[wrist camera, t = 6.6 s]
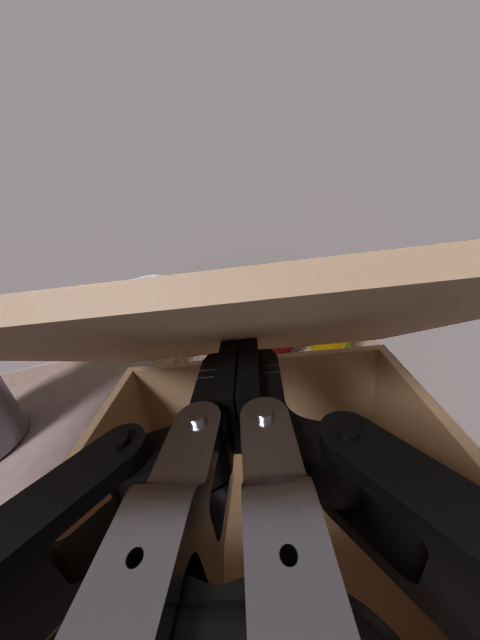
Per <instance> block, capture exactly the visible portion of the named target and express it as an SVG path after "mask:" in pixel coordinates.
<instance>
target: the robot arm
mask: <svg viewBox="0 0 480 640" xmlns="http://www.w3.org/2000/svg"><path fill="white" fill-rule="evenodd" d="M28 427H29V420H28V418H27V417H26V415H25V414H24V412H23V410H22V409H21V407H20V406H19V404H18V403H17V401H16V400H15V398H14V397H13V395H12V393H11V392H10V390H9V389H8V387H7V385H6V384H5V382H4V381H3V379H2V378H1V376H0V459H2V458H3V457H4V456H5V455H6V454H8V453H9V452H10V451H11V450H12V449H13V448H14V447H15V446H16V445H17V444H18V443H19V442H20V441H21V439H22V438H23V437H24V435H25V434H26V432H27V430H28ZM234 454H242V469H243V483H242V484H241V503H242V528H243V553H244V577H242V578H239V579H236V580H233V581H231V582H228V583H225V584H224V545H225V537H226V530H227V522H228V515H229V508H230V500H231V493H232V486H233V462H234ZM109 494H110V495H111V496H112V498H111V499H110V500H109V501H108V502H107V503H105V504H104V505H103V506H102V507H101V508H100V509H99V510H97V511H96V512H95V513H94V514H93V515H92V516H91V517H90V518H88V519H87V520H86V521H85V522H84V523H83V524H82V525H80V526H79V527H78V528H77V529H76V530H75V531H74V532H72V533H71V534H70V535H69V536H67V537H66V538H64V539H62V540H60V541H56V540H57V539H58V538H59V537H60V536H61V535H62V534H63V533H64V532H66V531H67V530H68V529H69V528H70V527H71V526H72V525H74V524H75V523H76V522H77V521H78V520H79V519H81V518H82V517H83V516H84V515H85V514H86V513H88V512H89V511H90V510H91V509H92V508H93V507H95V506H96V505H97V504H98V503H99V502H100V501H102V500H103V499H104V498H105V497H106V496H107V495H109ZM320 504H321V505H320ZM321 506H322V508H323V510H324V511H325V512H326V513H327V515H328V516H329V517H330V518H331V519H332V520H333V521H334V522H335V523H336V524H337V525H338V526H339V527H340V528H341V529H342V530H343V531H344V532H345V533H346V534H347V535H348V536H349V537H350V538H351V539H352V540H353V541H354V542H355V543H356V544H357V545H358V546H359V547H360V548H361V549H362V550H363V551H364V552H365V553H366V554H367V555H368V556H369V557H370V558H371V559H372V560H373V561H374V562H375V563H376V564H377V566H378V567H379V568H380V569H381V570H382V571H383V572H384V573H385V574H386V575H387V576H388V577H389V578H390V579H391V580H392V581H393V582H394V583H395V584H396V585H397V586H398V587H399V588H400V589H401V590H402V591H403V592H404V593H405V594H406V595H407V596H408V597H409V598H410V599H411V600H412V601H413V602H414V603H415V604H416V605H417V606H418V607H419V608H420V609H421V610H422V611H423V612H424V613H425V614H426V615H427V616H428V617H429V618H430V619H431V620H432V621H433V622H434V623H435V624H436V625H437V626H438V627H439V628H440V629H441V631H442V632H443V633H444V634H445V635H446V636H447V637H448V638H449V639H450V640H480V486H479V485H477V484H475V483H474V482H472V481H470V480H468V479H467V478H465V477H463V476H462V475H460V474H458V473H457V472H455V471H453V470H452V469H450V468H448V467H447V466H445V465H443V464H442V463H440V462H438V461H437V460H435V459H433V458H432V457H430V456H428V455H427V454H425V453H423V452H422V451H420V450H418V449H417V448H415V447H413V446H411V445H410V444H408V443H406V442H405V441H403V440H401V439H400V438H398V437H396V436H395V435H393V434H391V433H390V432H388V431H386V430H385V429H383V428H381V427H380V426H378V425H376V424H375V423H373V422H371V421H370V420H368V419H366V418H365V417H363V416H361V415H359V414H356V413H353V412H349V411H335V412H331V413H329V414H327V415H325V416H324V417H323V418H322V420H321V421H317V420H312V419H307V418H304V417H301V416H299V415H297V414H295V413H294V412H292V411H291V410H290V409H289V407H288V406H287V404H286V402H285V398H284V392H283V386H282V380H281V374H280V368H279V362H278V356H277V354H276V353H275V352H274V351H273V350H272V349H259V350H258V341H257V338H248V339H240V340H227V341H221V343H220V347H219V352H218V353H212V354H209V355H208V356H207V357H206V358H205V359H204V360H203V361H202V363H201V367H200V372H199V374H198V379H197V380H196V384H195V387H194V390H193V394H192V397H191V401H190V404H189V405H187V406H185V407H184V408H183V409H181V410H180V411H179V412H178V414H177V415H176V417H175V419H174V421H173V423H172V424H171V425H170V426H167V427H165V428H162V429H159V430H156V431H152V432H149V433H145V431H144V428H143V427H142V426H141V425H139V424H136V423H127V424H122V425H119V426H117V427H115V428H113V429H111V430H109V431H108V432H106V433H105V434H103V435H102V436H100V437H99V438H98V439H96V440H95V441H93V442H92V443H90V444H89V445H87V446H86V447H85V448H83V449H82V450H80V451H79V452H77V453H76V454H75V455H73V456H72V457H70V458H69V459H67V460H66V461H64V462H63V463H62V464H60V465H59V466H57V467H56V468H54V469H53V470H51V471H50V472H49V473H47V474H46V475H44V476H43V477H41V478H40V479H38V480H37V481H36V482H34V483H33V484H31V485H30V486H28V487H27V488H25V489H24V490H23V491H21V492H20V493H18V494H17V495H15V496H14V497H13V498H11V499H10V500H8V501H7V502H5V503H4V504H2V505H1V506H0V640H46V639H47V637H48V636H49V635H50V634H51V633H52V632H53V631H54V630H55V629H56V628H57V627H58V626H59V625H60V624H61V623H62V621H63V623H62V625H61V627H60V628H59V629H58V630H57V631H56V632H55V633H54V634H53V636H52V637H51V638H50V639H49V640H401V639H400V638H399V637H398V635H397V634H396V633H395V632H394V631H393V630H392V629H391V628H390V627H389V626H388V625H387V624H386V623H385V622H384V621H383V620H382V619H381V618H380V617H379V616H378V615H377V614H375V613H374V612H373V611H372V610H371V609H369V608H368V607H367V606H366V605H365V604H363V603H362V602H360V601H359V600H357V599H356V598H354V597H353V596H351V595H349V594H348V593H347V592H346V589H345V586H344V582H343V579H342V576H341V572H340V569H339V566H338V562H337V559H336V556H335V552H334V549H333V546H332V542H331V539H330V536H329V532H328V529H327V526H326V522H325V519H324V516H323V512H322V509H321Z"/></svg>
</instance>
